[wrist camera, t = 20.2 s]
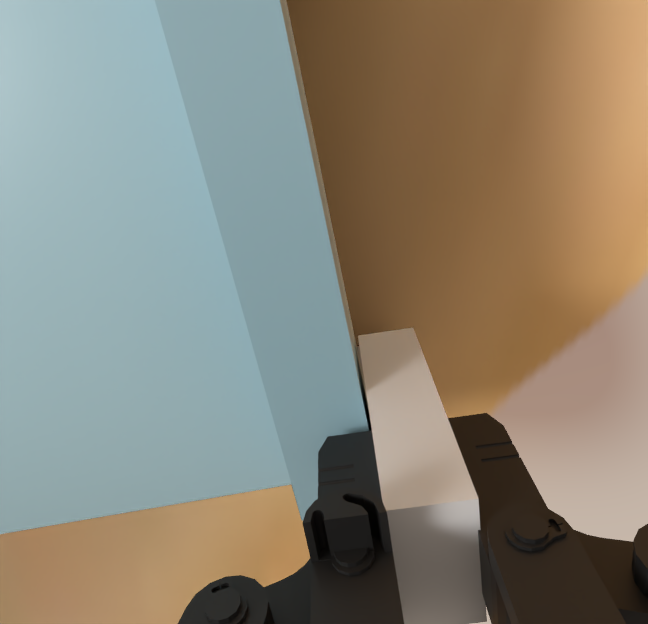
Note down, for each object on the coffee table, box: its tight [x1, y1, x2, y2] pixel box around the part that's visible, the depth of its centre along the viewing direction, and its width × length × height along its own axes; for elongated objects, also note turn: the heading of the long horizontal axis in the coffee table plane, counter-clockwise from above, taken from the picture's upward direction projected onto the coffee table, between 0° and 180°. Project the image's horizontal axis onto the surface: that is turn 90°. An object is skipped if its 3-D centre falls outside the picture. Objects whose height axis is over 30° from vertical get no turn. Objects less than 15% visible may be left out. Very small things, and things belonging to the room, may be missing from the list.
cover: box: [0, 0, 372, 534], centre depth 14 cm, size 13×19×8 cm
